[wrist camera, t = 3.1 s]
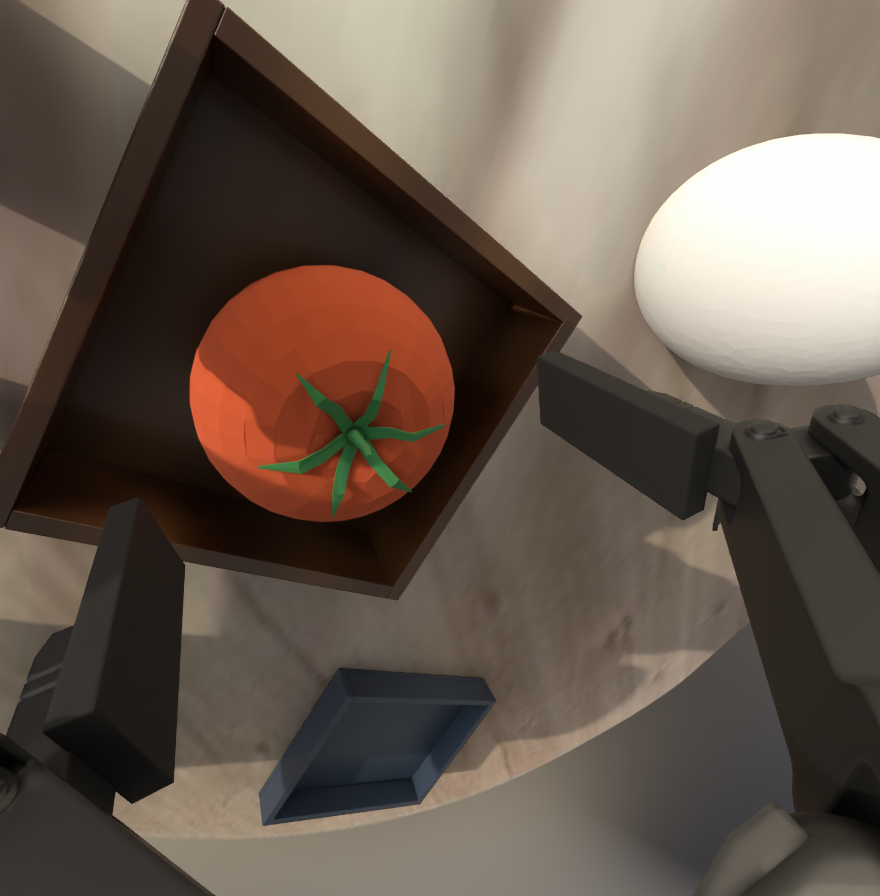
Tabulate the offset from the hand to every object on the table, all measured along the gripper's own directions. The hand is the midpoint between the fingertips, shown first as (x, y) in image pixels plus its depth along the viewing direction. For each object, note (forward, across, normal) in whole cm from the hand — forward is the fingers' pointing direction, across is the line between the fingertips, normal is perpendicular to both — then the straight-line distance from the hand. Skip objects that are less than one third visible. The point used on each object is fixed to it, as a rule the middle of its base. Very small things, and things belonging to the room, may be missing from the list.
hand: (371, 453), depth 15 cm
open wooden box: (+10, 0, 0) cm, 10 cm away
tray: (+10, -4, -32) cm, 34 cm away
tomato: (+10, 0, 0) cm, 10 cm away
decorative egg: (+10, +24, -1) cm, 27 cm away
